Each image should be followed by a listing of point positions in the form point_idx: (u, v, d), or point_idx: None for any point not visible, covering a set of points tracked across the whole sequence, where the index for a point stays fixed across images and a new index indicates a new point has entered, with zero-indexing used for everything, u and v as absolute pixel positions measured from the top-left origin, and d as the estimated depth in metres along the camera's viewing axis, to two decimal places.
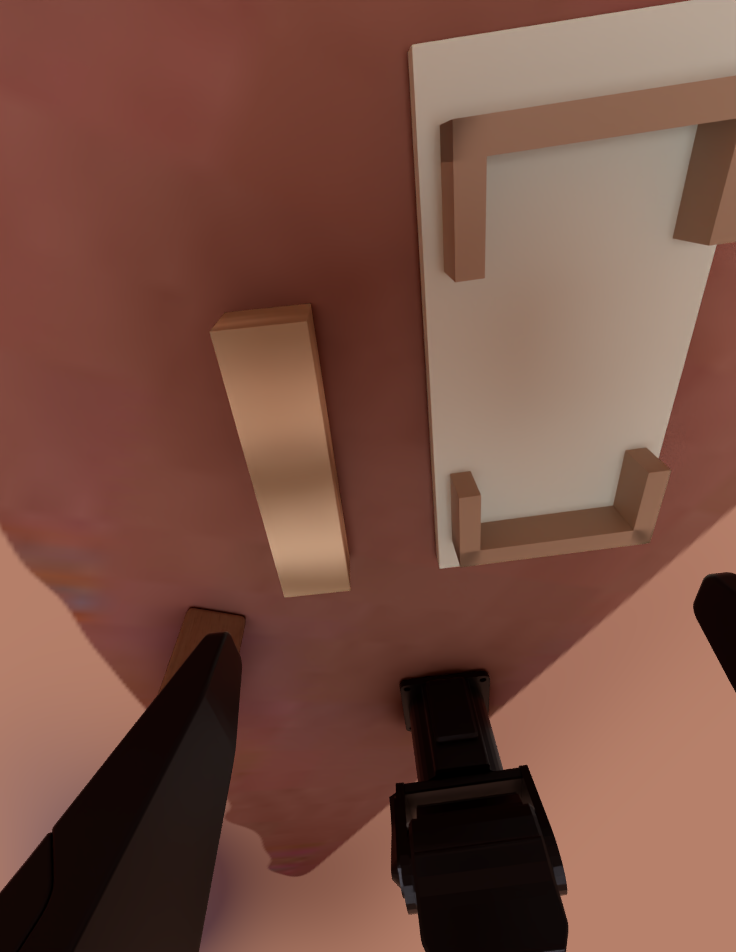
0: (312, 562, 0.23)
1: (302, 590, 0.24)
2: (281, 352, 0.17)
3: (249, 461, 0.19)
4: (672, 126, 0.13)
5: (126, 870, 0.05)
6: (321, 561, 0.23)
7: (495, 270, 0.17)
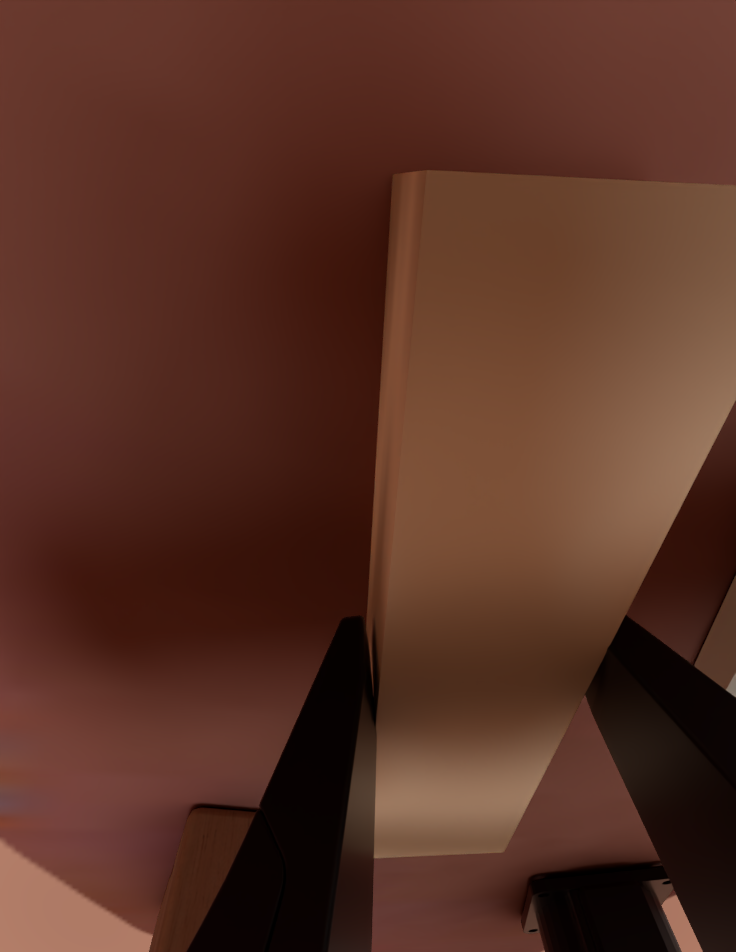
0: (451, 813, 0.10)
1: (406, 850, 0.11)
2: (666, 311, 0.04)
3: (394, 630, 0.07)
4: None
5: (345, 847, 0.05)
6: (471, 813, 0.10)
7: None
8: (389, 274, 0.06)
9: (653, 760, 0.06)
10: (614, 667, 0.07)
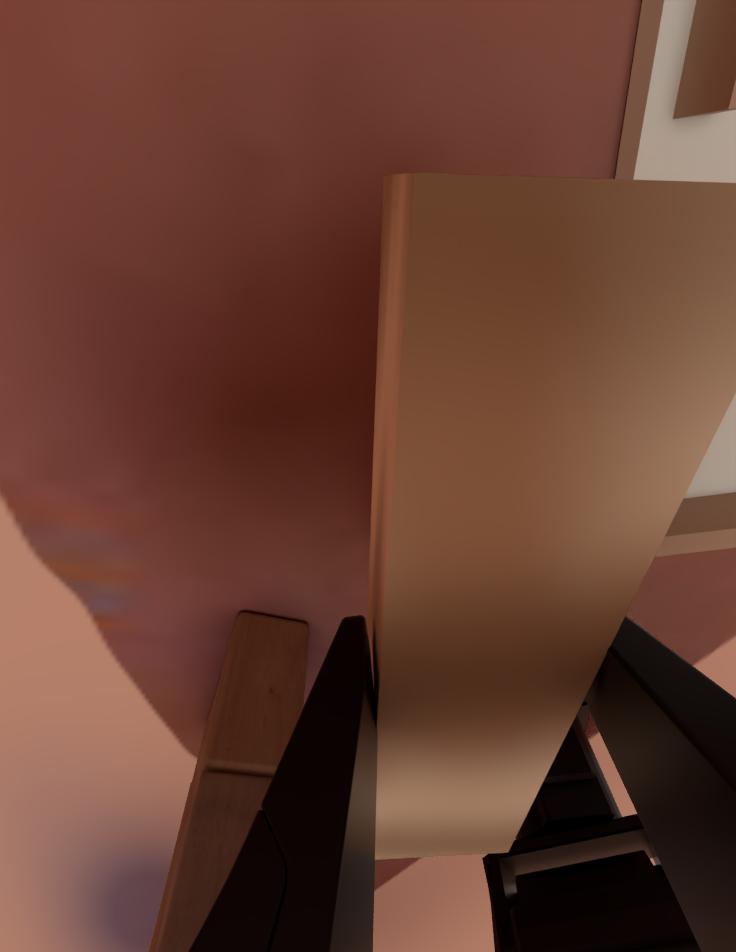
0: (455, 814, 0.10)
1: (410, 851, 0.11)
2: (660, 310, 0.04)
3: (392, 633, 0.07)
4: None
5: (346, 846, 0.05)
6: (474, 814, 0.10)
7: None
8: (383, 276, 0.06)
9: (651, 760, 0.06)
10: (612, 667, 0.07)
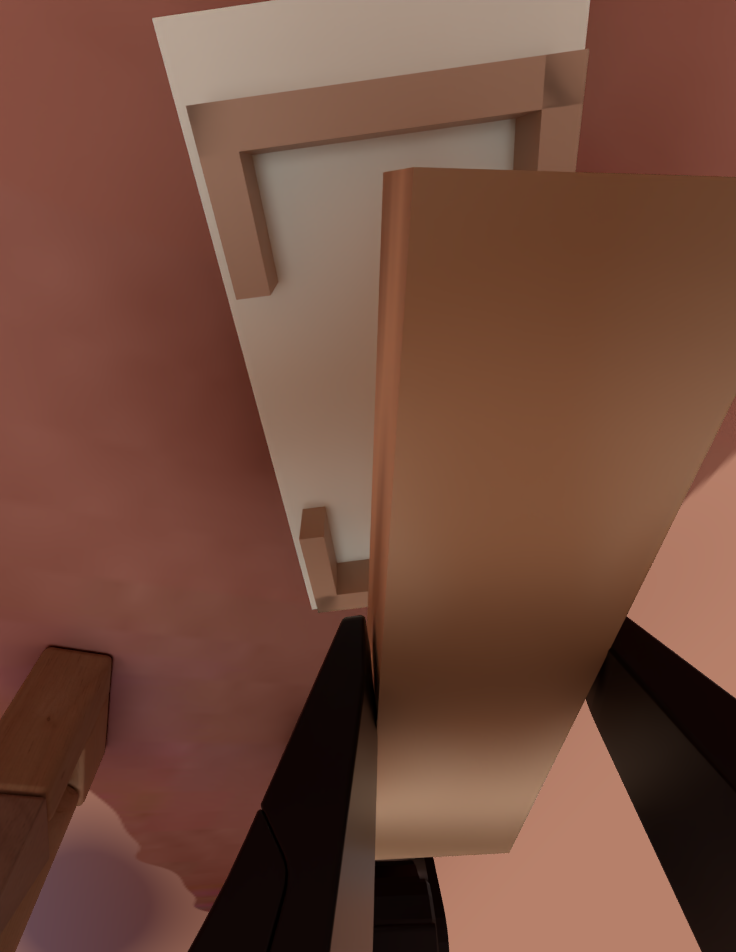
0: (455, 815, 0.10)
1: (411, 852, 0.11)
2: (662, 308, 0.04)
3: (393, 633, 0.07)
4: (458, 119, 0.11)
5: (347, 846, 0.05)
6: (476, 814, 0.10)
7: (308, 285, 0.15)
8: (382, 273, 0.06)
9: (651, 760, 0.06)
10: (612, 667, 0.07)
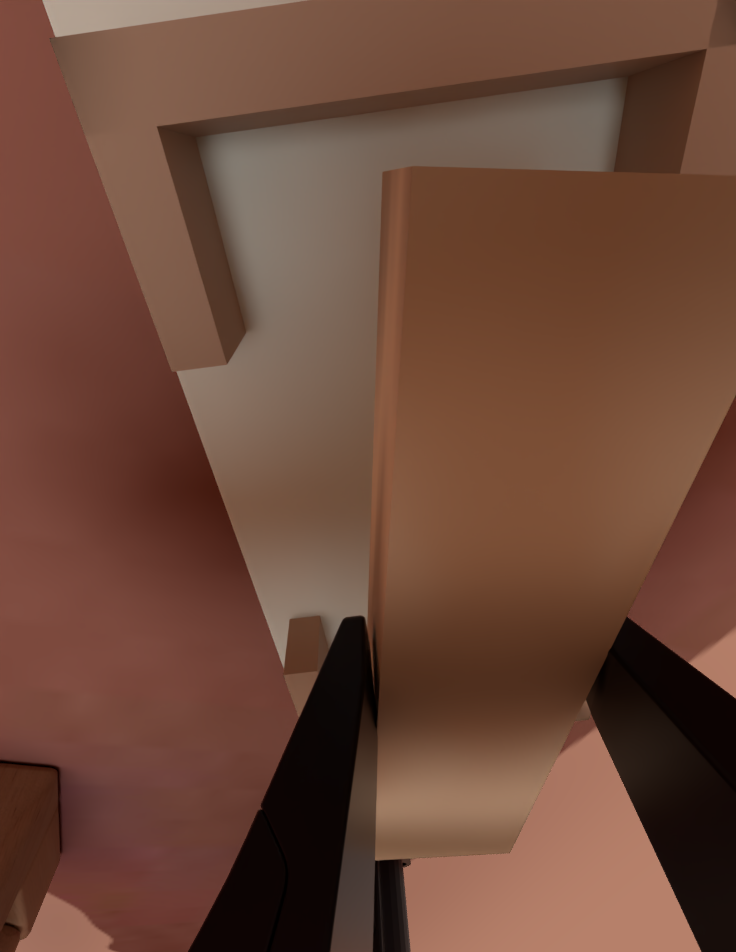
0: (456, 815, 0.10)
1: (411, 852, 0.11)
2: (662, 306, 0.04)
3: (392, 633, 0.06)
4: (554, 66, 0.06)
5: (347, 846, 0.05)
6: (476, 814, 0.10)
7: (291, 337, 0.10)
8: (382, 273, 0.06)
9: (651, 760, 0.06)
10: (612, 667, 0.07)
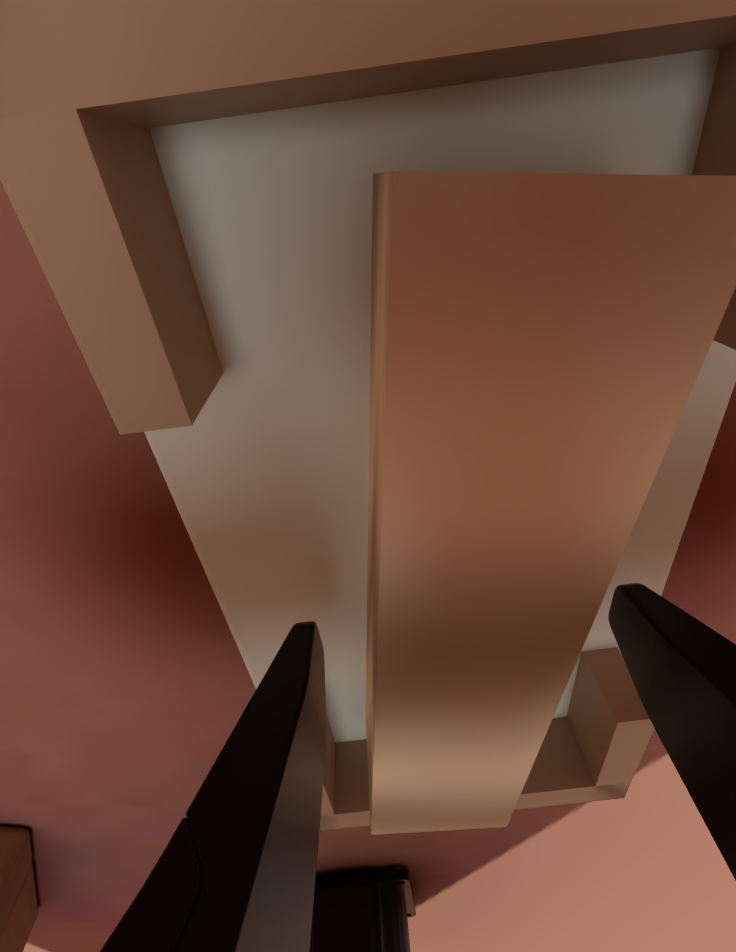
0: (453, 788, 0.10)
1: (412, 826, 0.11)
2: (624, 293, 0.05)
3: (388, 607, 0.07)
4: (650, 21, 0.04)
5: (267, 855, 0.05)
6: (473, 787, 0.10)
7: (279, 378, 0.08)
8: (373, 269, 0.07)
9: (717, 753, 0.06)
10: (673, 660, 0.07)
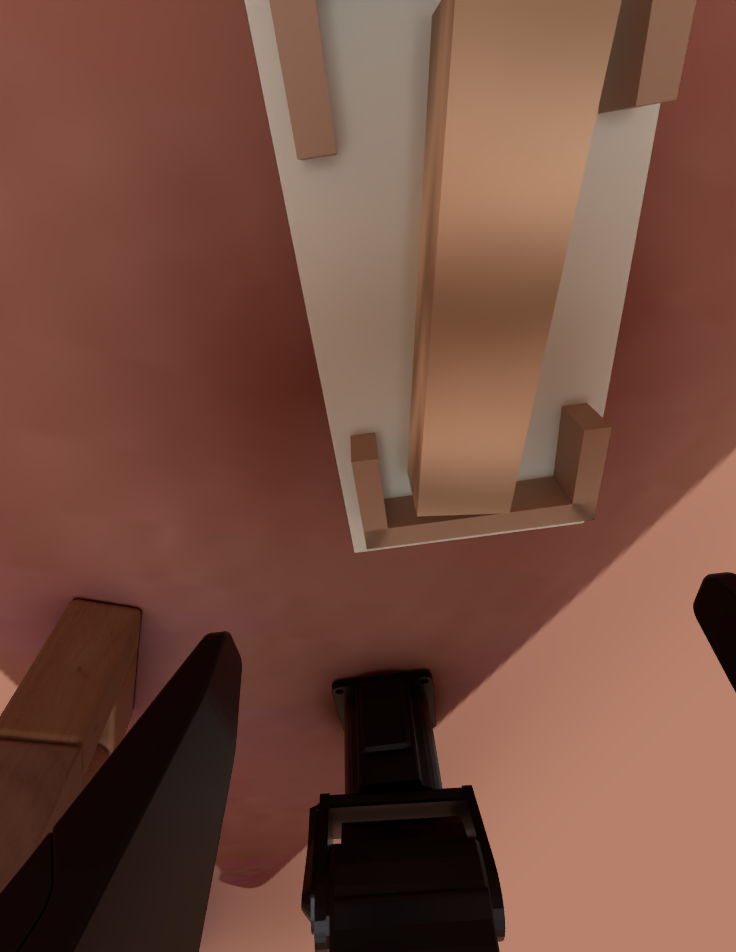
0: (474, 462, 0.16)
1: (445, 507, 0.17)
2: (561, 43, 0.10)
3: (440, 270, 0.12)
4: None
5: (126, 870, 0.05)
6: (487, 462, 0.16)
7: (370, 159, 0.13)
8: (432, 70, 0.12)
9: None
10: None
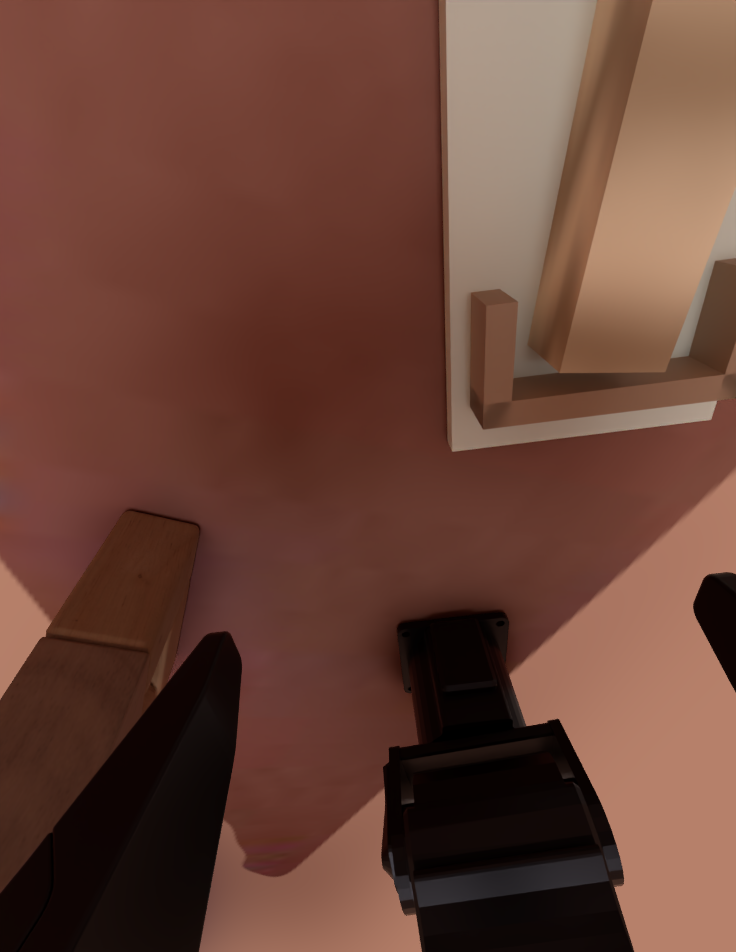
0: (640, 296, 0.13)
1: (594, 361, 0.14)
2: None
3: (659, 0, 0.10)
4: None
5: (126, 870, 0.05)
6: (654, 296, 0.13)
7: None
8: None
9: None
10: None
